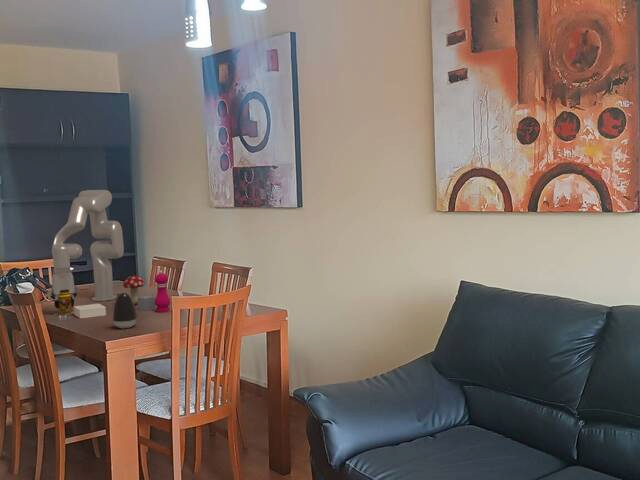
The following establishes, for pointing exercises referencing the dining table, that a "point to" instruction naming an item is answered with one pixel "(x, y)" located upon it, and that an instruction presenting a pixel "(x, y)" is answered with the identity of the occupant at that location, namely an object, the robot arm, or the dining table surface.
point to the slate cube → (146, 303)
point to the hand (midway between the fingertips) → (64, 307)
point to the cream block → (89, 310)
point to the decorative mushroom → (134, 286)
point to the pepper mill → (161, 293)
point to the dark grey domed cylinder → (124, 311)
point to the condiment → (64, 303)
